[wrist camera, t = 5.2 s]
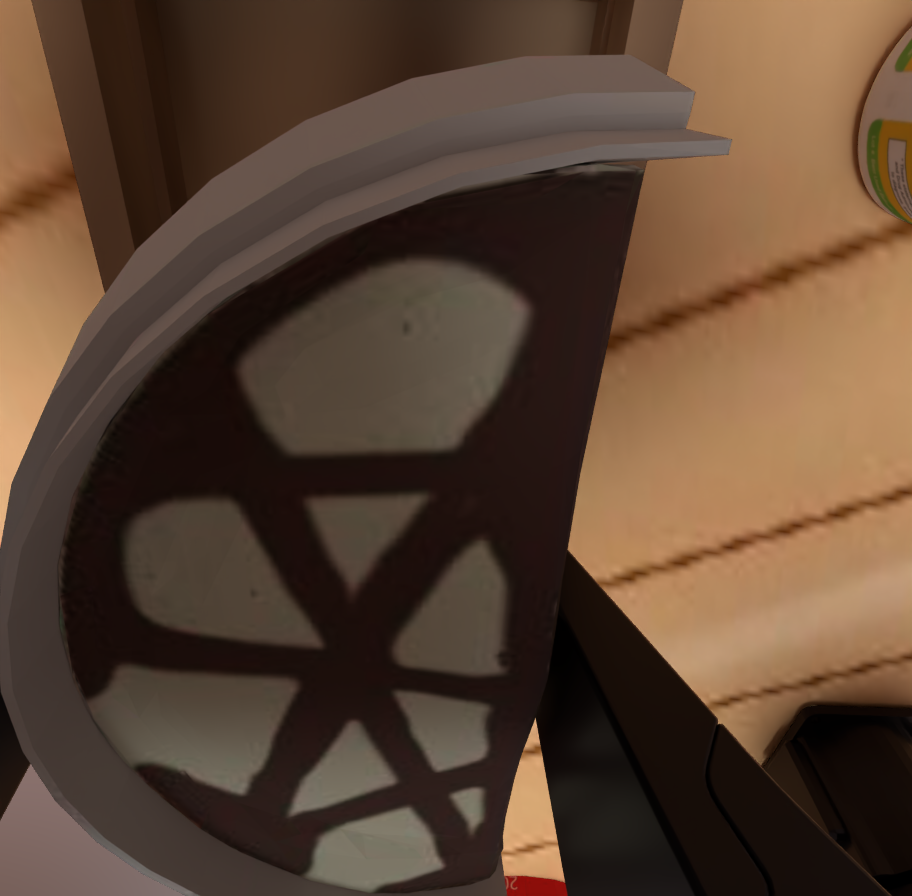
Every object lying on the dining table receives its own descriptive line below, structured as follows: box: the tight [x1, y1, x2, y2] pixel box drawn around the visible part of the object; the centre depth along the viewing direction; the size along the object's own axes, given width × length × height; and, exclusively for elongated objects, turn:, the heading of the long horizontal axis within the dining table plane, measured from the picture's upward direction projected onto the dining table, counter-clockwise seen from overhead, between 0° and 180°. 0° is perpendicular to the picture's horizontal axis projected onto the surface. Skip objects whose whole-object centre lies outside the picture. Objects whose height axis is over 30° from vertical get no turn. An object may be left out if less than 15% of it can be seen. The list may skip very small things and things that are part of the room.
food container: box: [0, 55, 732, 896], centre depth 10 cm, size 12×6×10 cm, turn 176°
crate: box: [31, 0, 683, 293], centre depth 15 cm, size 11×17×4 cm, turn 176°
